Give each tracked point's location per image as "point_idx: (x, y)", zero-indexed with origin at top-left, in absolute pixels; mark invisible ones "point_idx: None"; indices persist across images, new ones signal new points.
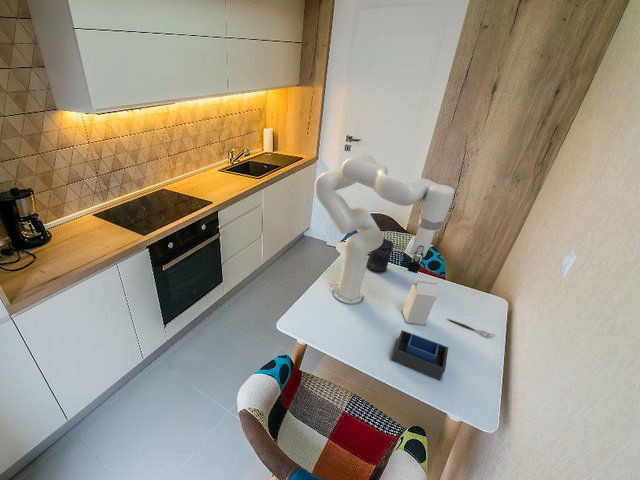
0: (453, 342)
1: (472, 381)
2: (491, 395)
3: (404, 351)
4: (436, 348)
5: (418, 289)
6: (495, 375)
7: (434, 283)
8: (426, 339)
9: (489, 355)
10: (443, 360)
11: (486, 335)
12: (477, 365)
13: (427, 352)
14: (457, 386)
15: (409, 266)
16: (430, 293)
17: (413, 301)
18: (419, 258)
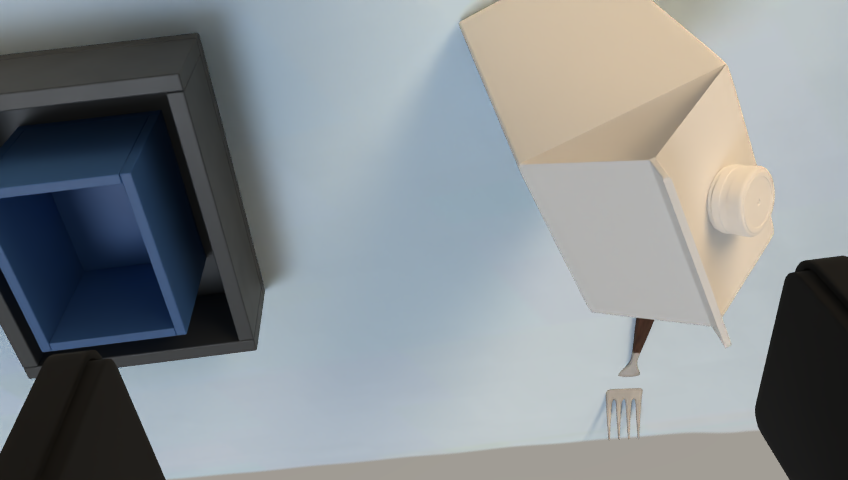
0: (447, 300)
1: (199, 412)
2: (176, 471)
3: (93, 115)
4: (127, 331)
5: (571, 175)
6: (325, 463)
7: (710, 317)
8: (158, 268)
9: (457, 429)
10: (113, 353)
11: (617, 400)
12: (337, 408)
13: (21, 306)
14: None
15: (9, 467)
16: (588, 270)
17: (510, 102)
18: (796, 429)
